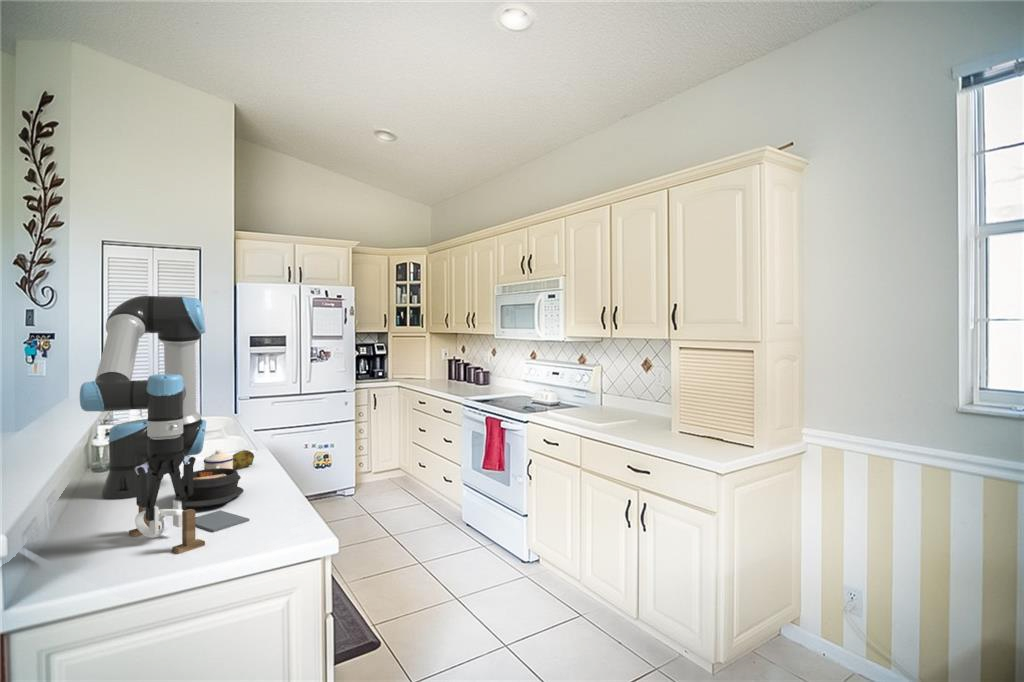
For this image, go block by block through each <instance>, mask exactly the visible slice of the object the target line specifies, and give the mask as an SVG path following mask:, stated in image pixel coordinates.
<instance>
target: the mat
mask: <svg viewBox="0 0 1024 682" xmlns="http://www.w3.org/2000/svg"><path fill="white" fill-rule="evenodd" d="M249 521H250V518H249V517H246V516H245V517H244V516H241V515H239V514H234V513H231V512H228V511H225V510H221V509H220V510H216V511H212V512H210V513H206V514H202V515H199V516H195V528H196V527H197V528H198V529H199V528H200V529H203V530H206V531H209V532H211V533H215V532H218V531H222V530H224V529H227V528H231V527H234V526H237V525H241V524H244V523H246V522H249Z"/></svg>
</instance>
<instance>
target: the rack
mask: <svg viewBox="0 0 1024 682" xmlns="http://www.w3.org/2000/svg"><path fill="white" fill-rule="evenodd" d="M142 511H146V508H145V507H144V508H143V507H140V506H138V514H139V513H140V512H142ZM195 517H196V510H195V509H193V508H190V509H189V508H188V509H185V510H184V511H182V527H181V528H182V529H181V542H182V543H179V544H177V545H174V546H171V551H172V553H176V554H179V555H180V554H184V553H186V552H188V551H192V550H195V549H198V548H200V547H204V546H206V541H205V540H203V539H200V538H196V526H195ZM144 522H145V524H146V525H147V526H148V527H149V528H150V521H147V520H146V513H145V514H144ZM159 530H161V525H160V524H159ZM128 535H129V536H132V537H137V536H138V537H139V536H142V535H143V534H142V533H141V532H140V531H139V530H138V529H137V527H136V528H134V529H130V530H129V529H128Z"/></svg>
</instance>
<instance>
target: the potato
mask: <svg viewBox="0 0 1024 682" xmlns="http://www.w3.org/2000/svg"><path fill="white" fill-rule="evenodd" d="M232 456H233V458H234V459H233V469H234V470H237V471H238V470H242V469H244V468H246V467H249V466H252V465H253V462H254V459H255V455H254V453H253V452H252V451H250V450H245V449H243V450H240V451H238V452H236V453H234V454H232Z"/></svg>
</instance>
